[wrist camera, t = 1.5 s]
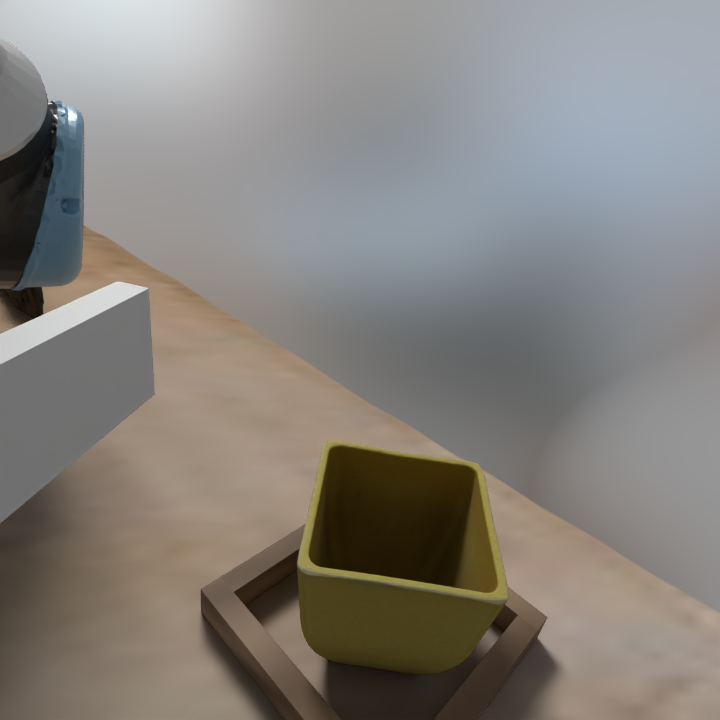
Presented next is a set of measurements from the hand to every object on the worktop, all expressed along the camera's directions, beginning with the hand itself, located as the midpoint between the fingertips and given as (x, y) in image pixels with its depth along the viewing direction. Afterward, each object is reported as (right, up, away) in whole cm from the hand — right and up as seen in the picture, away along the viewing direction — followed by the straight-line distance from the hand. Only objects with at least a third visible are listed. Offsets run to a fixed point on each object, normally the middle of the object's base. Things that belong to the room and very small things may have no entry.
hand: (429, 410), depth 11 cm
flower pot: (-1, -14, +18) cm, 23 cm away
